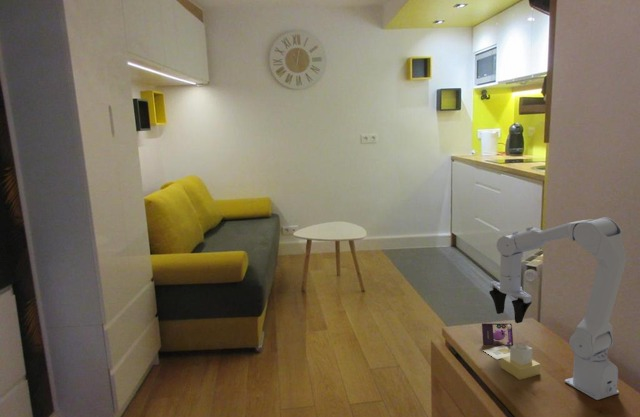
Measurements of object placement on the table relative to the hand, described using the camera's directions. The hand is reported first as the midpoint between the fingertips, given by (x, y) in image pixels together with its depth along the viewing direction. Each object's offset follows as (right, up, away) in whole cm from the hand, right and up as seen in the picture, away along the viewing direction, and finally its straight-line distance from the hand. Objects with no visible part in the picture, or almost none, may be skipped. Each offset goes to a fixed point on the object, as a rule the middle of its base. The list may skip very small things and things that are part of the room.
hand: (509, 317), depth 136 cm
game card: (-1, -10, +7) cm, 12 cm away
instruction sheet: (-3, -11, 0) cm, 11 cm away
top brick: (-1, -9, -11) cm, 15 cm away
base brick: (-1, -12, -11) cm, 16 cm away
